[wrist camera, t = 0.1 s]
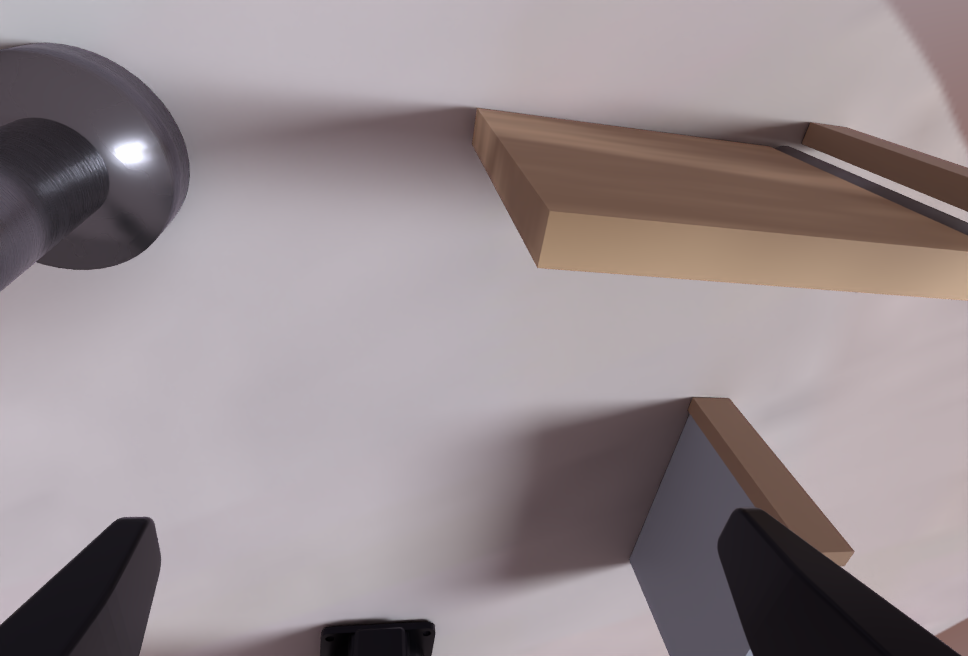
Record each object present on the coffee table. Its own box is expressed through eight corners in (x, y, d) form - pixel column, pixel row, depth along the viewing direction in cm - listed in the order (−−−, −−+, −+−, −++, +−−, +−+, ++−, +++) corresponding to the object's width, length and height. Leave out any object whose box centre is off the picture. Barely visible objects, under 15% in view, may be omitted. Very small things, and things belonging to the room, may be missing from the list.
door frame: (657, 559, 35) (734, 723, 27) (626, 559, 34) (695, 727, 27) (850, 127, 22) (1093, 208, 15) (805, 121, 22) (1031, 200, 14)
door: (787, 184, 23) (1027, 308, 14) (471, 147, 20) (536, 272, 12) (802, 148, 22) (1063, 256, 14) (477, 104, 20) (550, 206, 11)
